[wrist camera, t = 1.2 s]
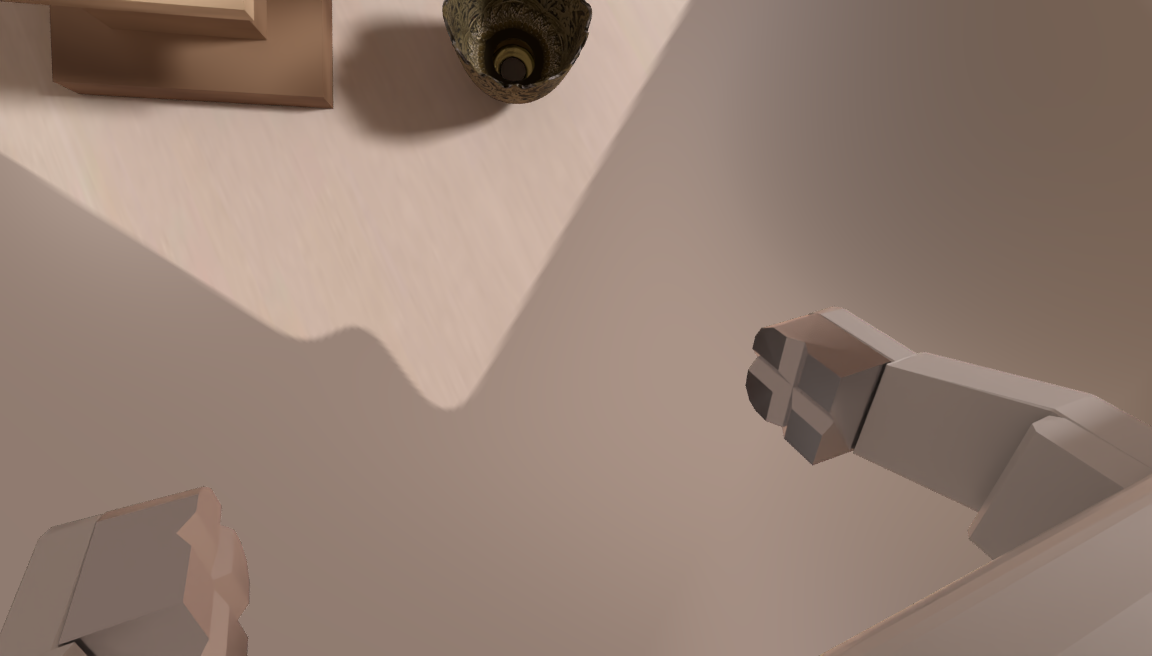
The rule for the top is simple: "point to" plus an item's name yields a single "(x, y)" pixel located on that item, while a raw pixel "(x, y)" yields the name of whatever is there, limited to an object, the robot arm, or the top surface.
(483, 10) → the cup
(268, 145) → the top surface
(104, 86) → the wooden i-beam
